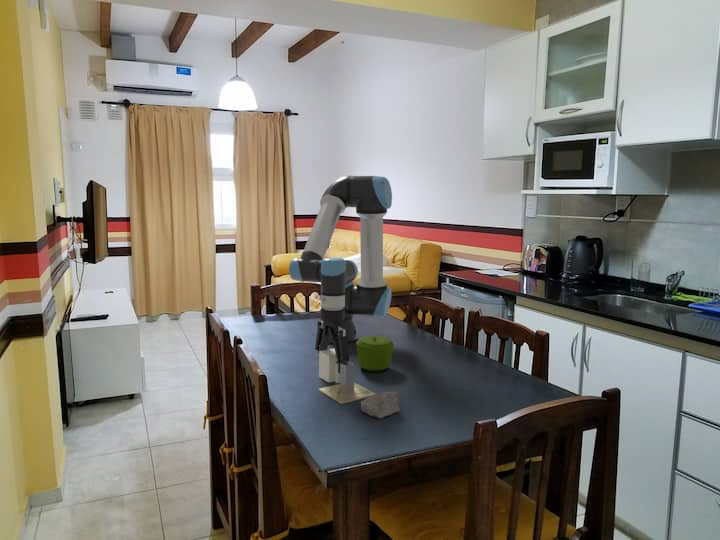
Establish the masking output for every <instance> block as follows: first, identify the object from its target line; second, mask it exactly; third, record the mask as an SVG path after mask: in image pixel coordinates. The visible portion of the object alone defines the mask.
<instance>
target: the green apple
mask: <svg viewBox="0 0 720 540" xmlns="http://www.w3.org/2000/svg"><path fill="white" fill-rule="evenodd" d="M355 344H356V352H357V357H358V365H359V367H360V368H362V369H364V370H365V371H368V372H380V371H381V372H382V371H383V370H386V369H387V368H389V367H390V366H391V363H392V357H393V354H394V353H393V352H394V347H395V346H394V345H395V344H394V343H393V341H392V340H391V339H390V338H388V337H385V336H378V335H365V336H363V337H360V338H359V339H357V340H356V342H355Z"/></svg>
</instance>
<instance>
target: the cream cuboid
mask: <svg viewBox="0 0 720 540" xmlns="http://www.w3.org/2000/svg"><path fill="white" fill-rule="evenodd" d="M340 359H341V358H340ZM336 362H337V357H336V353H335V348H334V347H333V348H327V350H322V351H319V353H318V378H320V379H322V380H323V381H325V382H327V383H332V382H333V383H335V371H336Z"/></svg>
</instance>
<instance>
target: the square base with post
mask: <svg viewBox="0 0 720 540" xmlns="http://www.w3.org/2000/svg"><path fill="white" fill-rule="evenodd" d="M355 371H356V366H355V363H353V362H351V361H350V360H349V361H348V362H343V363H340V383H336V384H334V385H329V386H325V387H321V388H318V391H319V392H320V393H322V394H324V395H326V396H327V397H328V398H331V399H332V400H334V401H335V402H337V403H339V404H340V405H342V404H343V405H344V404H347V403H351V402H355V401H360V400H364V399H366V398H368V397H370V396H373V395H375V394H376V393H377V392H373V391H372V390H370V389H368V388H366V387H364V386H362V385H361V384H358V383H356V382H355Z"/></svg>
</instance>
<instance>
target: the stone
mask: <svg viewBox="0 0 720 540" xmlns="http://www.w3.org/2000/svg"><path fill="white" fill-rule="evenodd" d="M375 393H376V394H375V395H373V396H370V397H367V398H364V399H362V400H361V401H360V409H361V411H362V412H363V413H365V414H367V415H369V416H371V417H376V418H377V419H383V418H384V417H387V416H392V415H393V414H394V413H398V412H400V407H399V395H398V392H397V391H392V392H390V391H379V392H375Z"/></svg>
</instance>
